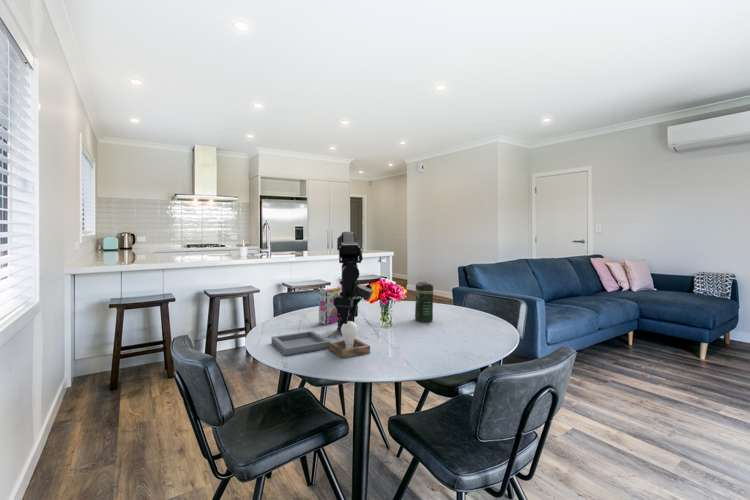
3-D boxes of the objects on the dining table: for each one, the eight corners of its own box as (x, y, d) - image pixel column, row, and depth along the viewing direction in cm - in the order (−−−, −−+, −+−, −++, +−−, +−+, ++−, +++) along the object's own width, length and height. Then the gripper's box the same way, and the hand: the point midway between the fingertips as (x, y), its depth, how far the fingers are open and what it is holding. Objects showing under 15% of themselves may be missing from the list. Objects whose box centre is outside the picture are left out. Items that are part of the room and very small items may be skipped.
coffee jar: (434, 322, 181) (435, 283, 180) (418, 322, 180) (419, 284, 178) (428, 317, 190) (429, 280, 189) (413, 317, 189) (413, 281, 188)
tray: (312, 336, 156) (312, 330, 156) (330, 348, 141) (330, 341, 141) (271, 343, 147) (271, 336, 147) (286, 356, 132) (286, 349, 132)
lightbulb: (351, 354, 134) (351, 324, 133) (337, 351, 137) (337, 321, 137) (360, 350, 139) (361, 320, 139) (347, 347, 143) (347, 318, 142)
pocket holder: (355, 344, 146) (355, 338, 146) (370, 352, 137) (370, 345, 136) (329, 349, 140) (329, 342, 140) (342, 358, 131) (342, 351, 131)
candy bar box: (326, 325, 173) (326, 290, 172) (318, 323, 176) (318, 288, 175) (342, 320, 182) (342, 286, 181) (334, 319, 185) (334, 285, 184)
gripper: (364, 282, 126) (364, 329, 127) (377, 275, 144) (376, 316, 145) (332, 281, 128) (332, 326, 129) (348, 274, 146) (348, 314, 147)
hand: (349, 320), depth 138 cm, fingers open, 9 cm apart
